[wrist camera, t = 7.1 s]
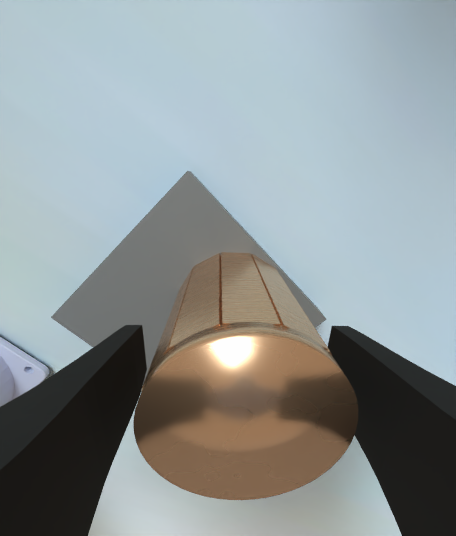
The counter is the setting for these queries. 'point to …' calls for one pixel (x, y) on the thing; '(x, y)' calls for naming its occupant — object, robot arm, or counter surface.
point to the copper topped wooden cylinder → (242, 387)
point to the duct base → (161, 267)
